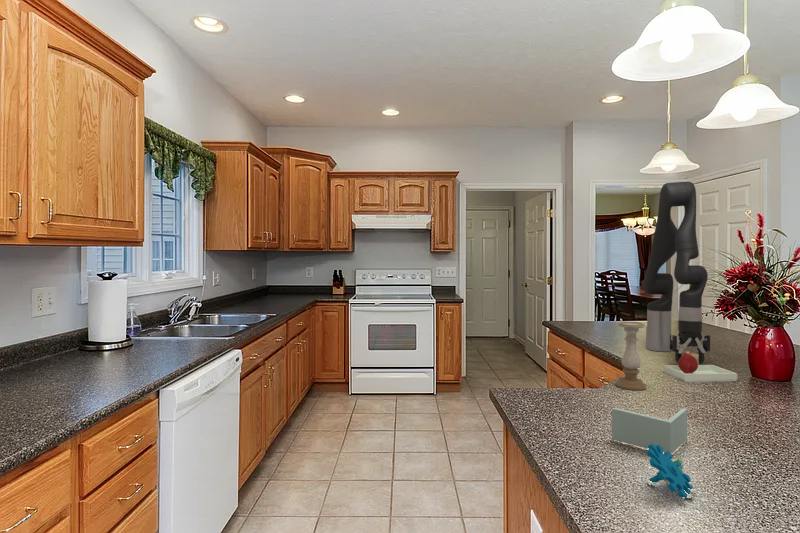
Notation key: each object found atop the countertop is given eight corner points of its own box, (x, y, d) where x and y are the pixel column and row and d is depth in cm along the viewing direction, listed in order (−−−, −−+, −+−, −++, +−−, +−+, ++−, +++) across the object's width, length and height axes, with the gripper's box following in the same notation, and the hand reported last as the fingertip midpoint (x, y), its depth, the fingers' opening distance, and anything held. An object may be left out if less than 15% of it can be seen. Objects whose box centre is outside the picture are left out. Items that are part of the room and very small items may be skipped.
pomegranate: (701, 377, 153) (702, 353, 153) (684, 377, 153) (685, 353, 153) (690, 372, 159) (691, 349, 159) (674, 372, 159) (674, 349, 159)
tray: (663, 372, 162) (663, 365, 162) (712, 371, 162) (712, 364, 162) (684, 381, 150) (684, 374, 150) (737, 381, 151) (737, 373, 151)
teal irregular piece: (687, 502, 76) (644, 446, 82) (658, 517, 79) (618, 461, 84) (706, 488, 83) (666, 437, 89) (679, 502, 86) (642, 452, 92)
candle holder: (624, 390, 141) (625, 325, 140) (610, 382, 150) (610, 321, 149) (652, 390, 141) (653, 325, 141) (636, 382, 150) (637, 320, 150)
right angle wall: (687, 441, 104) (687, 408, 104) (670, 458, 96) (670, 422, 95) (631, 426, 113) (631, 396, 112) (611, 441, 104) (612, 408, 104)
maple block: (680, 365, 172) (681, 351, 172) (691, 364, 172) (691, 351, 172) (687, 367, 168) (687, 354, 168) (698, 367, 168) (698, 354, 168)
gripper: (702, 317, 174) (701, 360, 174) (665, 317, 173) (664, 360, 174) (716, 320, 166) (715, 365, 167) (677, 320, 166) (676, 365, 166)
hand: (689, 362), depth 170 cm, fingers open, 7 cm apart
